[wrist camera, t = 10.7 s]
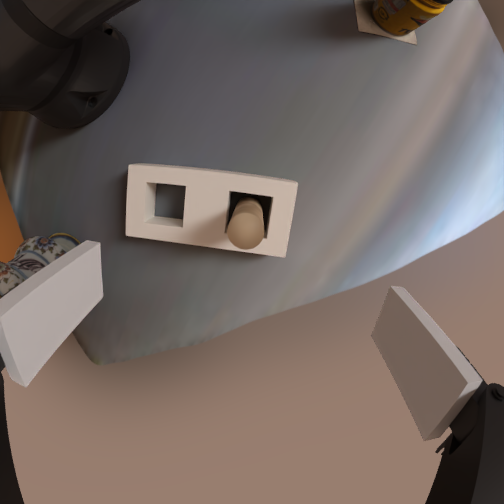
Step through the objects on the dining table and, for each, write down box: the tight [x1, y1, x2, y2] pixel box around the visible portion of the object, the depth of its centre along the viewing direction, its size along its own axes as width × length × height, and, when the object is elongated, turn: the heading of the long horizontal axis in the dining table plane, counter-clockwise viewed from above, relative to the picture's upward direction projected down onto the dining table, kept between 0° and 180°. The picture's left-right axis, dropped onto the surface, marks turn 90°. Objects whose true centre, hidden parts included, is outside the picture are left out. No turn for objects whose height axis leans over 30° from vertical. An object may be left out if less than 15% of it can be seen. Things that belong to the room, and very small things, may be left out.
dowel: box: [227, 196, 264, 250], centre depth 28 cm, size 3×3×10 cm
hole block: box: [126, 163, 298, 257], centre depth 31 cm, size 18×8×4 cm, turn 82°
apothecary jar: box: [0, 233, 81, 298], centre depth 27 cm, size 12×12×18 cm
